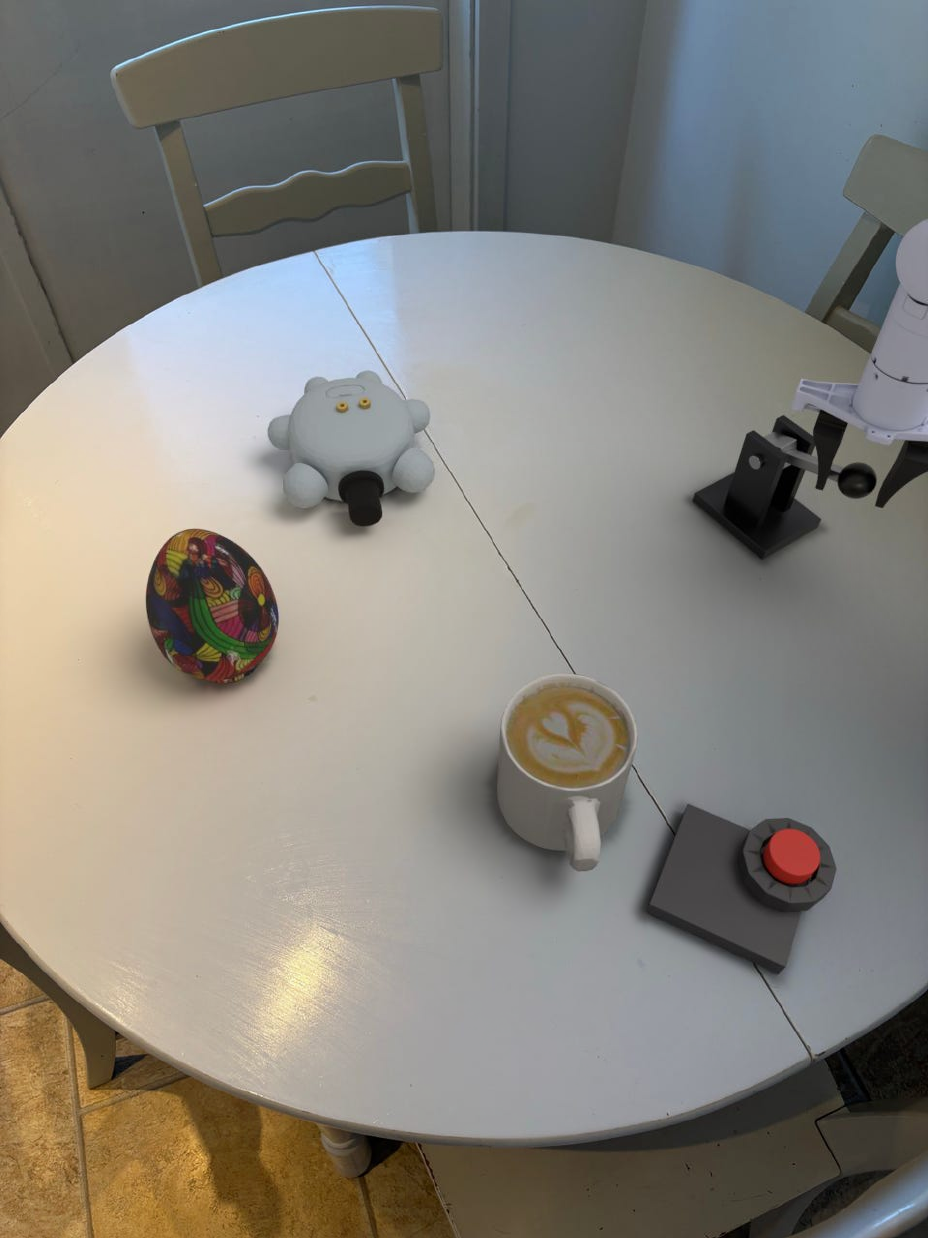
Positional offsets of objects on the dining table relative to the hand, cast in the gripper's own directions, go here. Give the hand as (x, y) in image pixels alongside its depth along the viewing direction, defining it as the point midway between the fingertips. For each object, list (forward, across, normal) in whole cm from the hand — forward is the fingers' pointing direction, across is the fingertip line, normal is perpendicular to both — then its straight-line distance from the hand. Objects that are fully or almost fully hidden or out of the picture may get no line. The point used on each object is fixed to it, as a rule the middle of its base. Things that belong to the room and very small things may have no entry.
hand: (850, 491), depth 79 cm
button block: (+10, +1, -36) cm, 37 cm away
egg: (+10, -46, -34) cm, 58 cm away
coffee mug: (+10, -13, -35) cm, 39 cm away
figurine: (+10, -48, -8) cm, 49 cm away
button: (+7, +4, -33) cm, 34 cm away
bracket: (+10, -7, +5) cm, 13 cm away
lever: (+2, -3, +2) cm, 4 cm away
